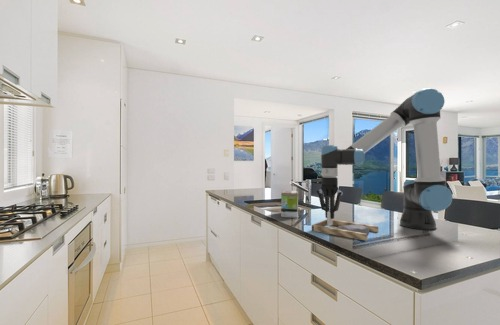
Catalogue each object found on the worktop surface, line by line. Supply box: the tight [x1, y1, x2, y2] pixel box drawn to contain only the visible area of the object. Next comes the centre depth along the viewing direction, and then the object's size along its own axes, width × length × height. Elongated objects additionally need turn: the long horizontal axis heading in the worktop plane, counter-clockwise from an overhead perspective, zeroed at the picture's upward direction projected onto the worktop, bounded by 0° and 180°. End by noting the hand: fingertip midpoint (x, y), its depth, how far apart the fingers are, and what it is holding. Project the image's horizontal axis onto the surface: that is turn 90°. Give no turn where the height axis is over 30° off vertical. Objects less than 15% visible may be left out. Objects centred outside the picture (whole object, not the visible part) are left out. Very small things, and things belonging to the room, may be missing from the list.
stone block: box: [336, 224, 370, 235], centre depth 114 cm, size 12×5×10 cm
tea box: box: [280, 190, 299, 219], centre depth 155 cm, size 15×10×15 cm
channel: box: [311, 218, 379, 241], centre depth 117 cm, size 24×18×2 cm
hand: (329, 225), depth 122 cm, fingers closed
